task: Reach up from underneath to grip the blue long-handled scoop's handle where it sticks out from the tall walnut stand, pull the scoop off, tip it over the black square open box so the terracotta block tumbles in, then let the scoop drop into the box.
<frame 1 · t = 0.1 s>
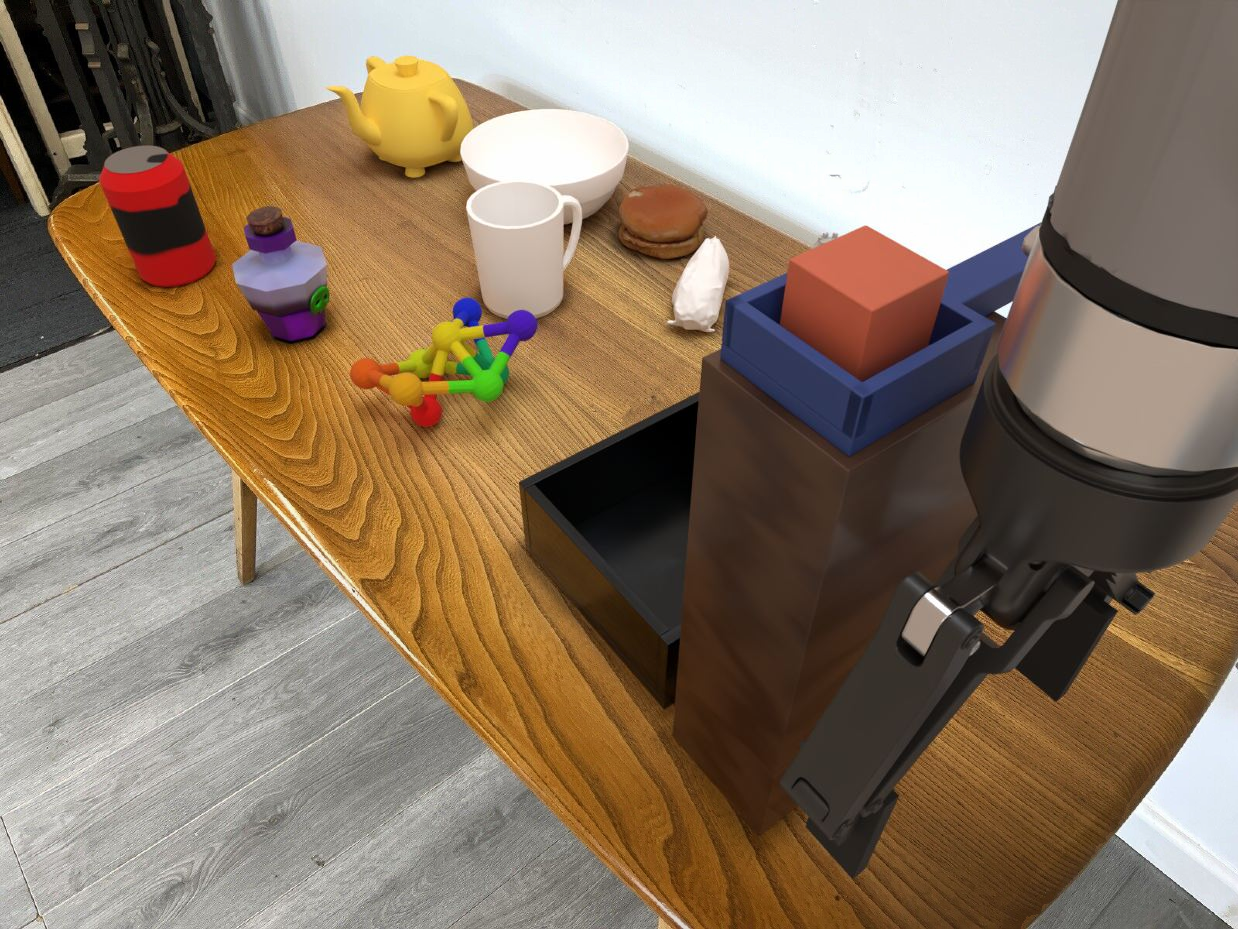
hand: (942, 757, 41), 15 cm above the table, tool pointing down, fingers open, 13 cm apart
white cloth bag: (702, 311, 90), on the table
soda can: (179, 269, 96), on the table
mug: (533, 296, 92), on the table
bowl: (548, 206, 105), on the table
blue long-handled scoop: (914, 333, 38), point 30 cm above the table, touching block, stand
stand: (786, 731, 58), on the table
rook chess piece: (818, 313, 90), on the table
block: (849, 354, 35), point 31 cm above the table, touching blue long-handled scoop
decorative model: (454, 397, 81), on the table
teapot: (408, 163, 112), on the table
black square open box: (682, 568, 67), on the table
potion bottle: (298, 327, 89), on the table
burger: (660, 239, 100), on the table
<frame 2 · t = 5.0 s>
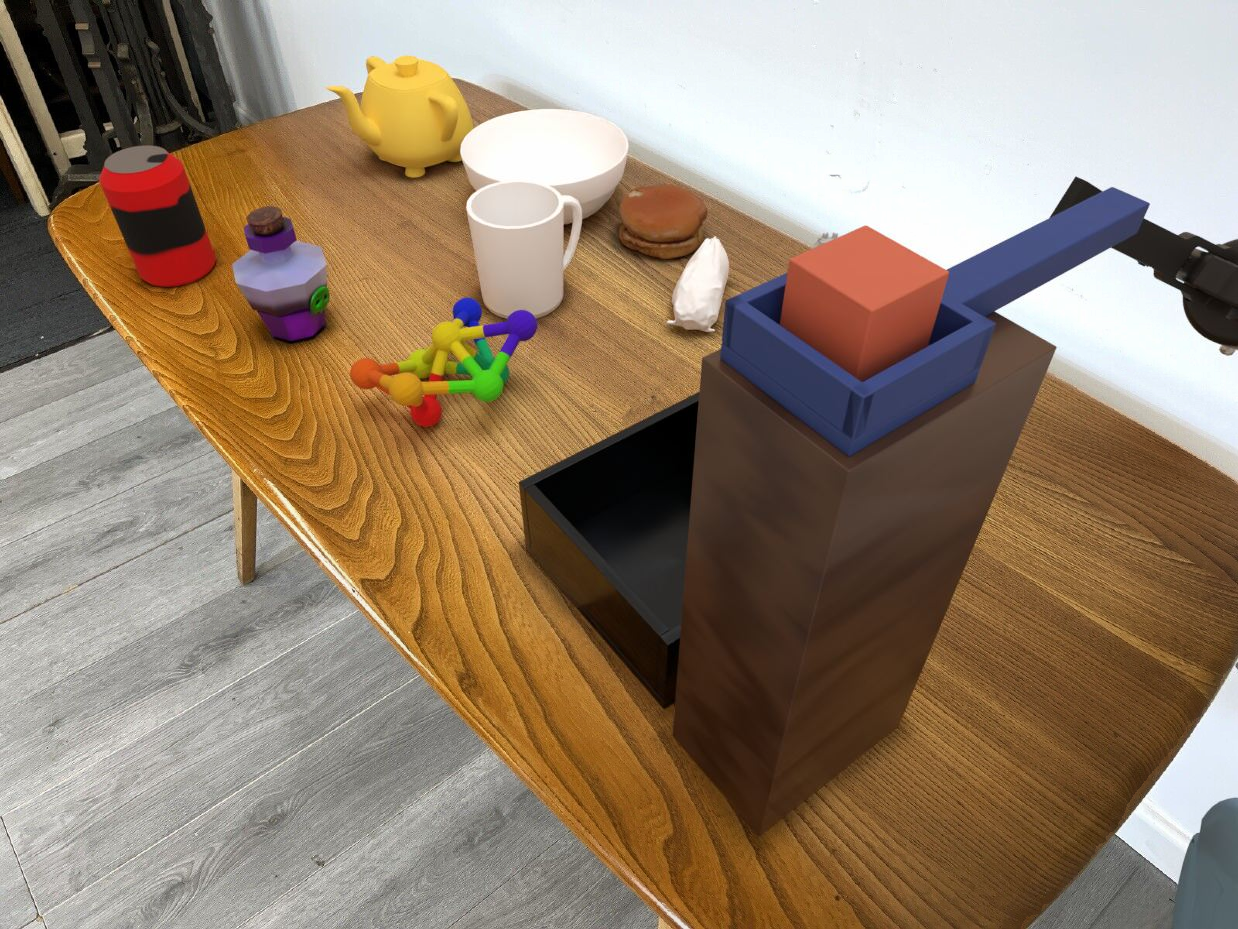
hand: (1175, 250, 50), 26 cm above the table, tool pointing upward, fingers open, 13 cm apart
nothing on the table moved.
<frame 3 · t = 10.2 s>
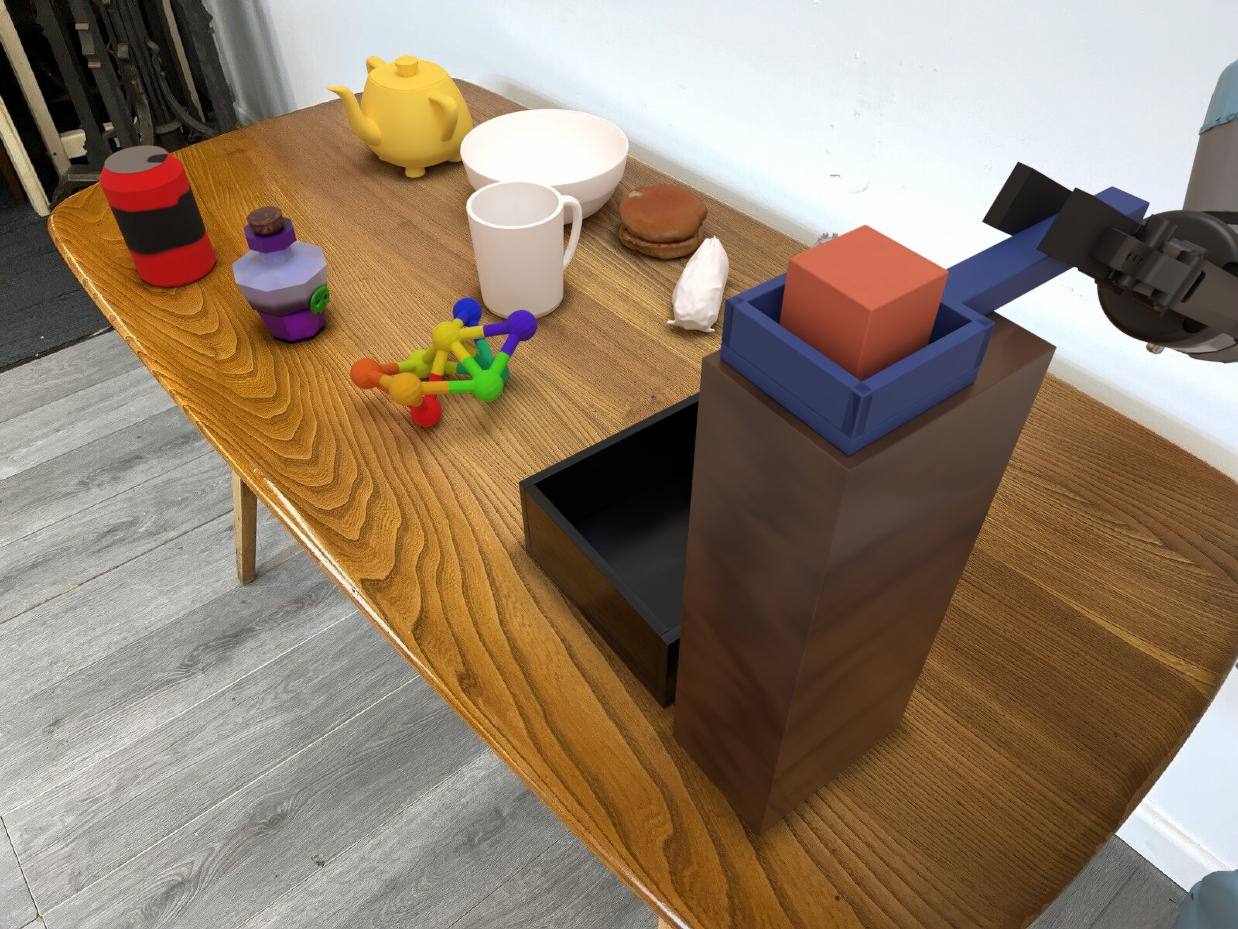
hand: (1035, 208, 38), 34 cm above the table, tool pointing upward, fingers closed on blue long-handled scoop, 2 cm apart
blue long-handled scoop: (913, 333, 38), point 30 cm above the table, touching block, gripper
everything else where it was.
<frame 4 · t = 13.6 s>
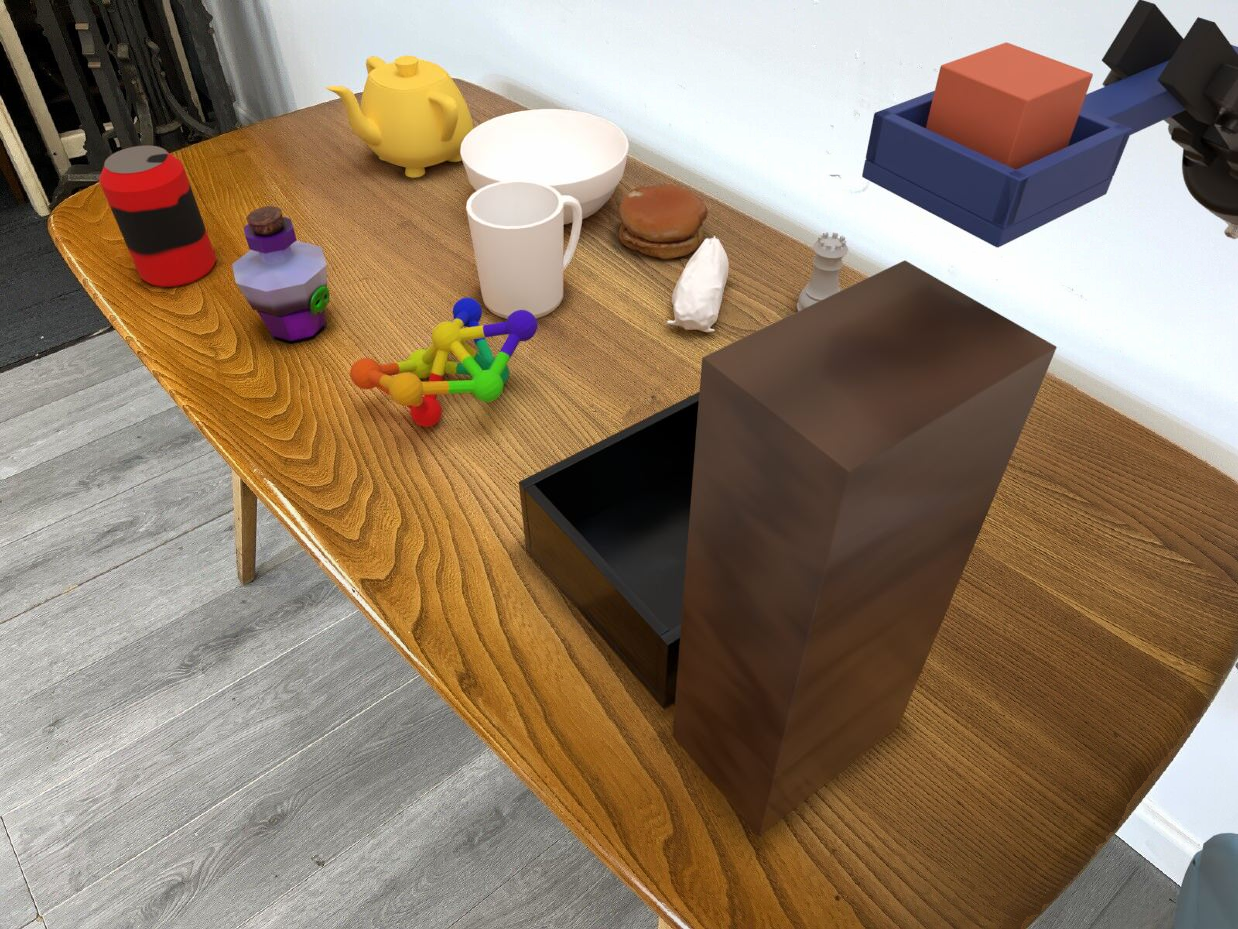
hand: (1156, 42, 40), 38 cm above the table, tool pointing upward, fingers closed on blue long-handled scoop, 2 cm apart
blue long-handled scoop: (1041, 158, 40), point 34 cm above the table, touching block, gripper
block: (987, 167, 38), point 35 cm above the table, touching blue long-handled scoop
everything else where it was.
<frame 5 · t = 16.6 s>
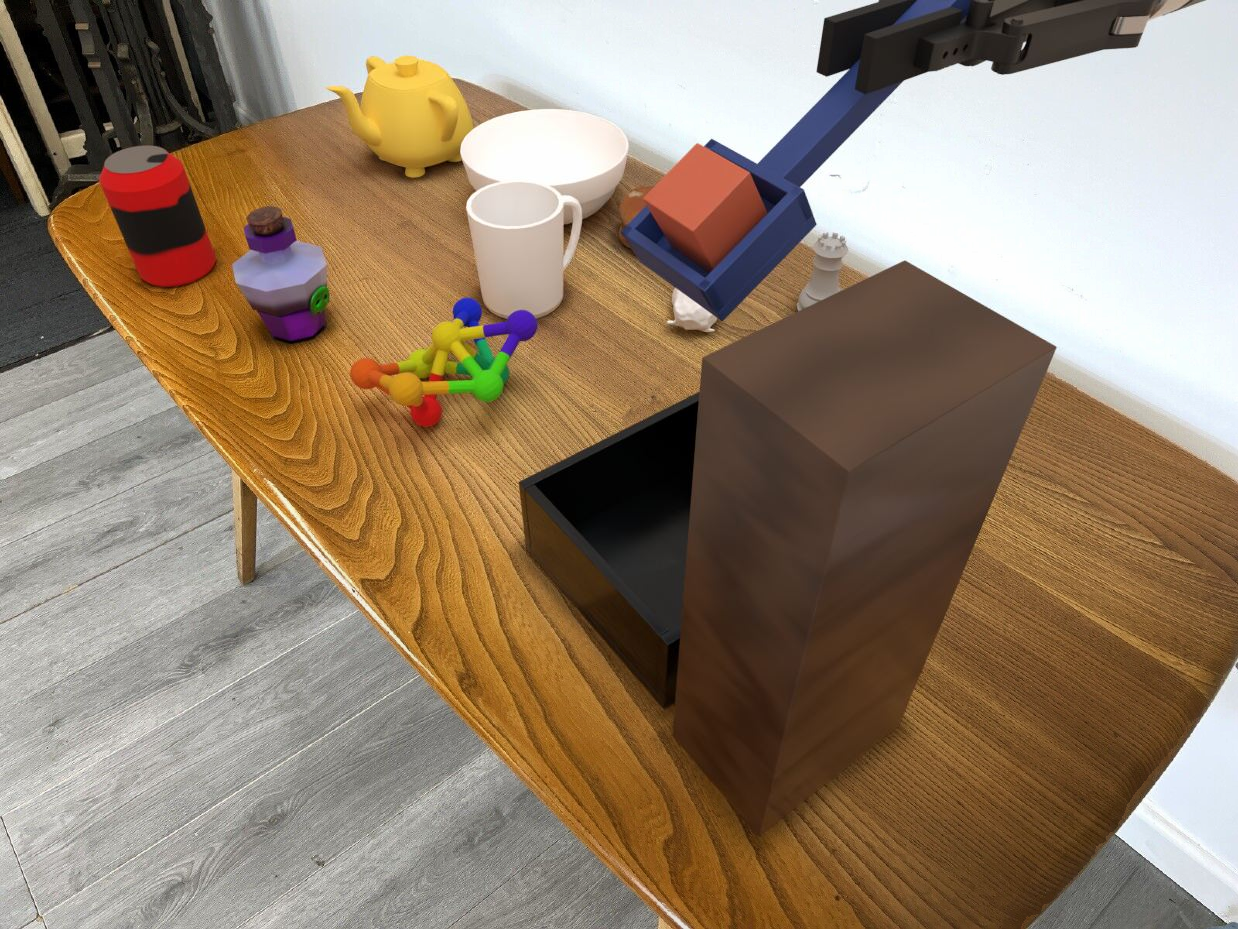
hand: (845, 55, 46), 35 cm above the table, tool horizontal, fingers closed on blue long-handled scoop, 2 cm apart
blue long-handled scoop: (777, 190, 49), point 28 cm above the table, tilted 30°, touching block, gripper
block: (720, 235, 49), point 27 cm above the table, tilted 30°, touching blue long-handled scoop
everything else where it was.
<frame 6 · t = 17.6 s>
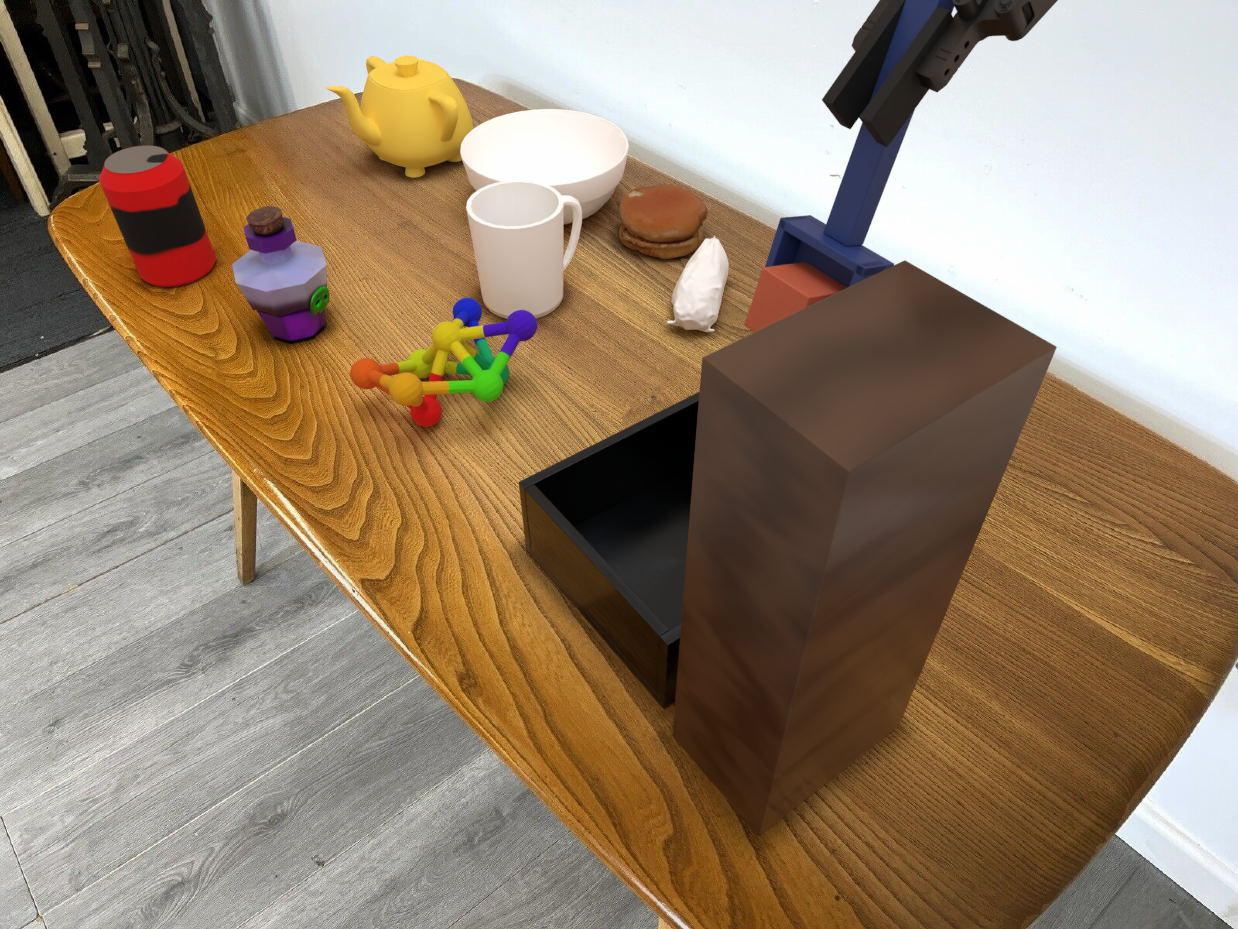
hand: (855, 122, 50), 31 cm above the table, tool tilted 45°, fingers closed on blue long-handled scoop, 2 cm apart
blue long-handled scoop: (854, 230, 56), point 24 cm above the table, tilted 75°, touching block, gripper
block: (818, 304, 58), point 19 cm above the table, tilted 75°, touching blue long-handled scoop
everything else where it was.
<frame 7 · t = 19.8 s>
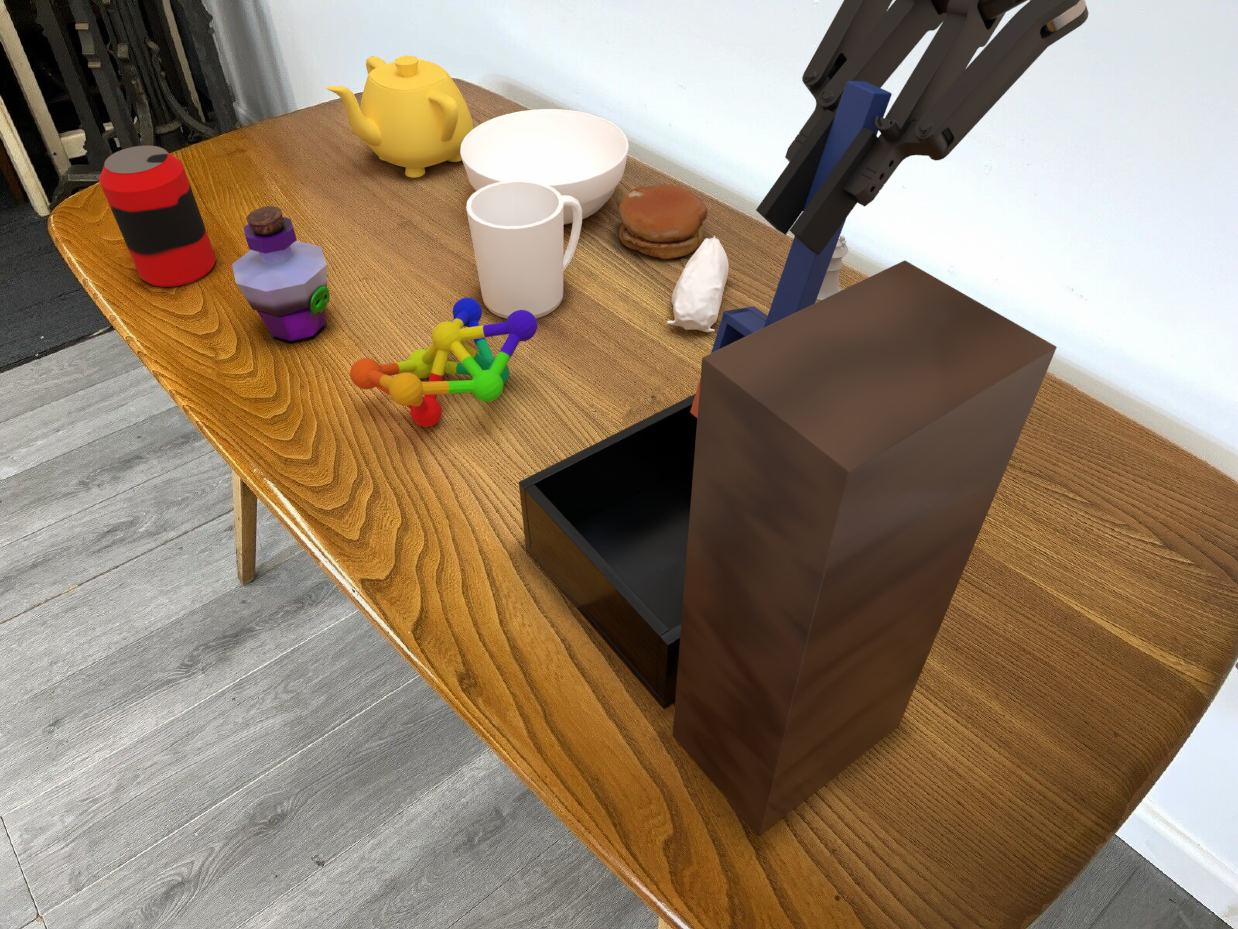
hand: (787, 232, 52), 26 cm above the table, tool tilted 45°, fingers closed on blue long-handled scoop, 2 cm apart
blue long-handled scoop: (793, 324, 58), point 18 cm above the table, tilted 75°, touching block, gripper
block: (761, 392, 60), point 14 cm above the table, tilted 75°, touching blue long-handled scoop
everything else where it was.
when the fingers open (23 cm above the table, at t = 20.7 s): blue long-handled scoop drops 9 cm and tips over, resting on black square open box.
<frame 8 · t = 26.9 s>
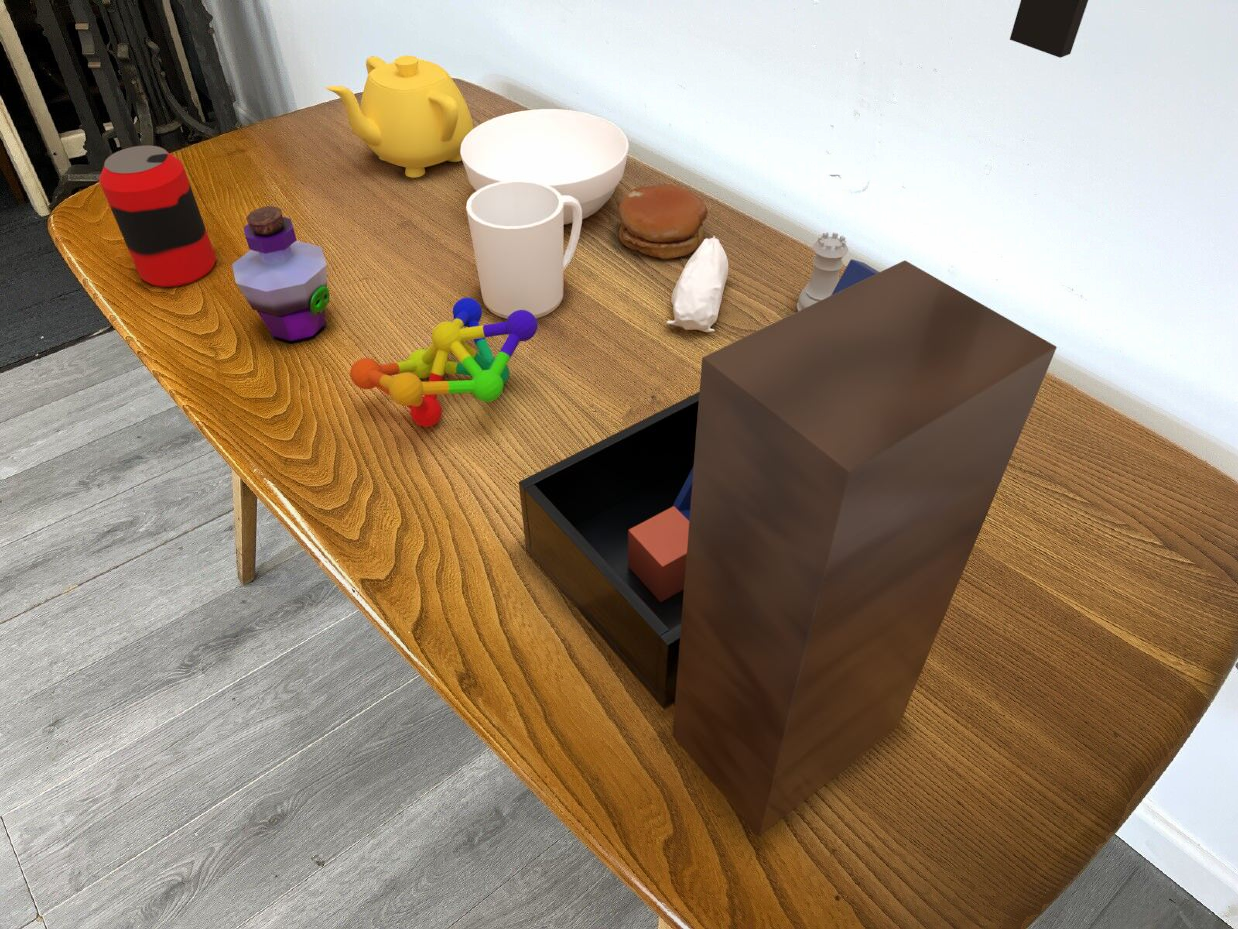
hand: (1124, 15, 45), 37 cm above the table, tool pointing down, fingers open, 13 cm apart
blue long-handled scoop: (770, 454, 65), point 7 cm above the table, tilted 60°, touching black square open box
block: (644, 566, 64), point 3 cm above the table, tilted 90°, touching black square open box
everything else where it was.
at the end: block inside the target area in the black square open box (3.6 cm from its centre), point 2.8 cm above the black square open box's base; blue long-handled scoop moved 28.0 cm from its start; the gripper is holding nothing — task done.
